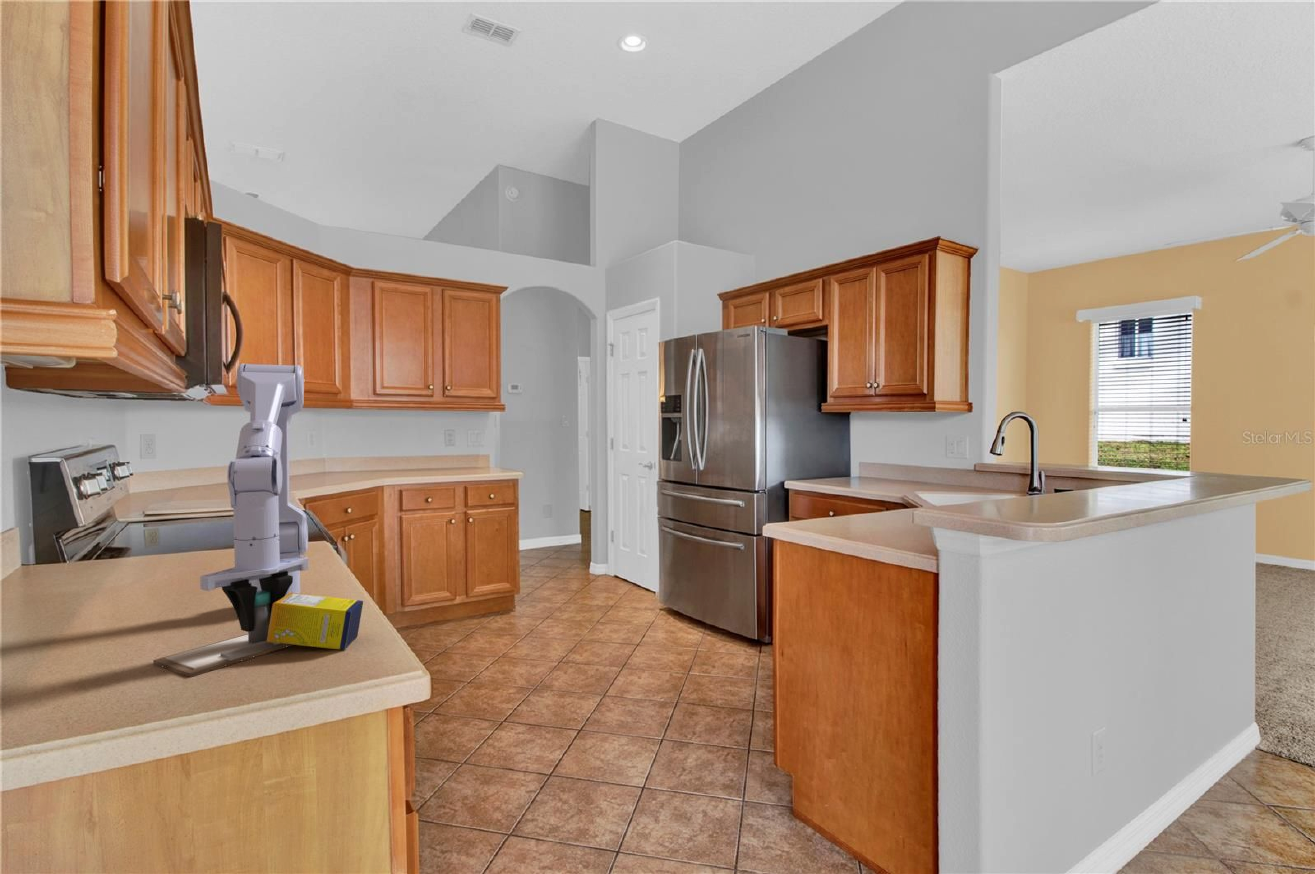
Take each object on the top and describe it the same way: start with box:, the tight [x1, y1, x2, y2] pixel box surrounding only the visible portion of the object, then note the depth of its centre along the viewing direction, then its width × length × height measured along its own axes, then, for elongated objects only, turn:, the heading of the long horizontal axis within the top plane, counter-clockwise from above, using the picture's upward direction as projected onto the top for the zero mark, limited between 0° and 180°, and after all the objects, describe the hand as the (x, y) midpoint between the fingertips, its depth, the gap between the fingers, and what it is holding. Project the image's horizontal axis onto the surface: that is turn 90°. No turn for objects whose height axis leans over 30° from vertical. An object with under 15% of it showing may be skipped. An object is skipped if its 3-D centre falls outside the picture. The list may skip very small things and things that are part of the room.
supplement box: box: [267, 592, 364, 651], centre depth 95 cm, size 6×6×11 cm
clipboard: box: [152, 633, 294, 678], centre depth 93 cm, size 10×16×1 cm, turn 151°
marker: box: [247, 591, 270, 643], centre depth 95 cm, size 3×3×7 cm
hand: (258, 627), depth 95 cm, fingers closed on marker, 3 cm apart
